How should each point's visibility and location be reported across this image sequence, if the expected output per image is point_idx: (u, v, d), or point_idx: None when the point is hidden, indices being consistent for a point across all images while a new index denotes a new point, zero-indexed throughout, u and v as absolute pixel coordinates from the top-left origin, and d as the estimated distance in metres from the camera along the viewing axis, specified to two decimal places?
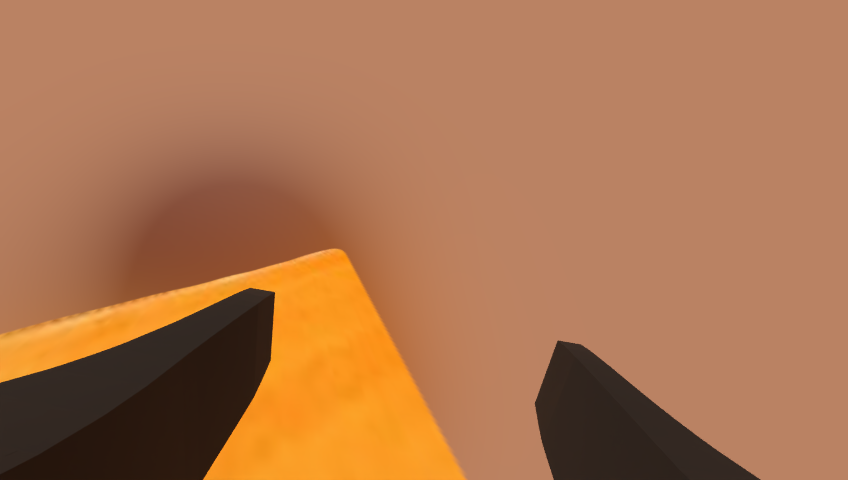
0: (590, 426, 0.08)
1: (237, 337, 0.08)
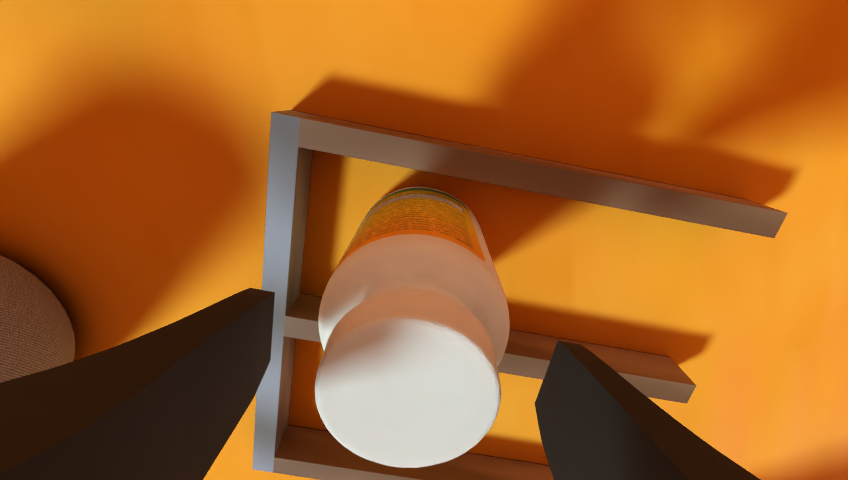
0: (590, 426, 0.08)
1: (237, 337, 0.08)
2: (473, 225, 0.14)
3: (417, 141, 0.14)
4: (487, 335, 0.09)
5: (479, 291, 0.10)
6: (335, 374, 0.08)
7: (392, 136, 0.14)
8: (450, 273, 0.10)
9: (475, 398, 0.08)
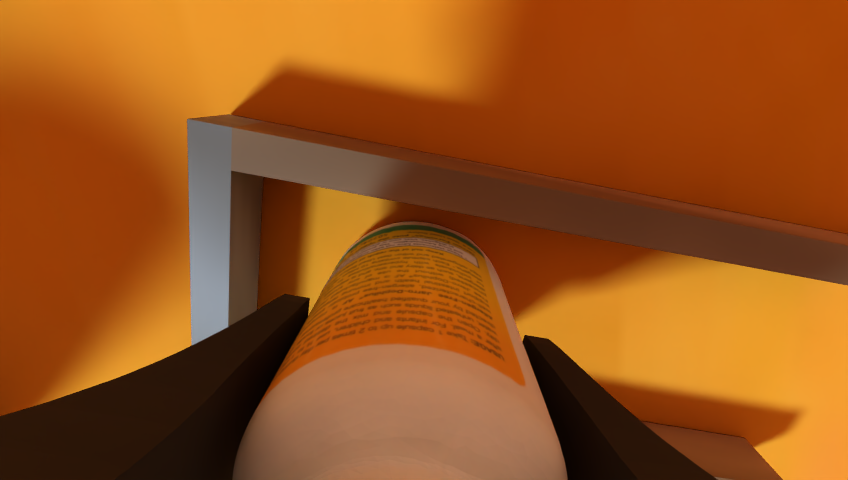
0: None
1: (279, 344, 0.08)
2: (494, 289, 0.09)
3: (409, 162, 0.09)
4: None
5: (521, 463, 0.05)
6: None
7: (372, 155, 0.09)
8: (467, 433, 0.05)
9: None
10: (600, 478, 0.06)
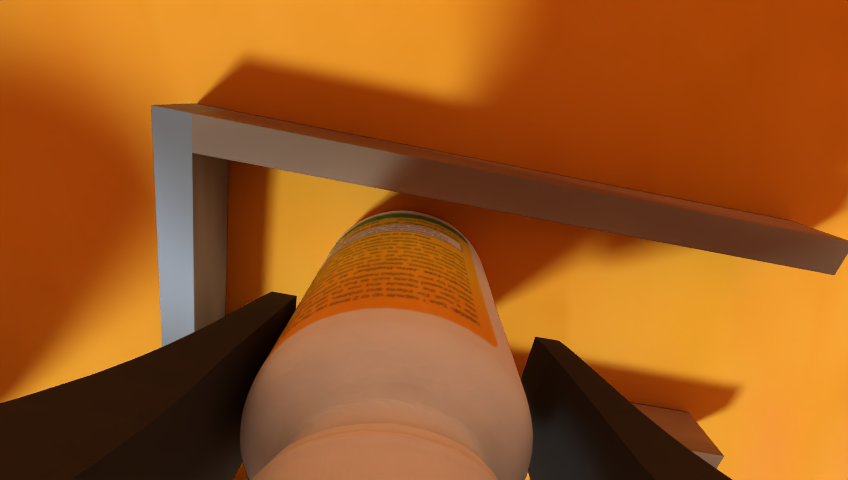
0: (562, 422, 0.08)
1: (263, 341, 0.08)
2: (475, 270, 0.10)
3: (354, 145, 0.10)
4: None
5: (490, 407, 0.06)
6: None
7: (320, 138, 0.10)
8: (445, 380, 0.06)
9: None
10: None
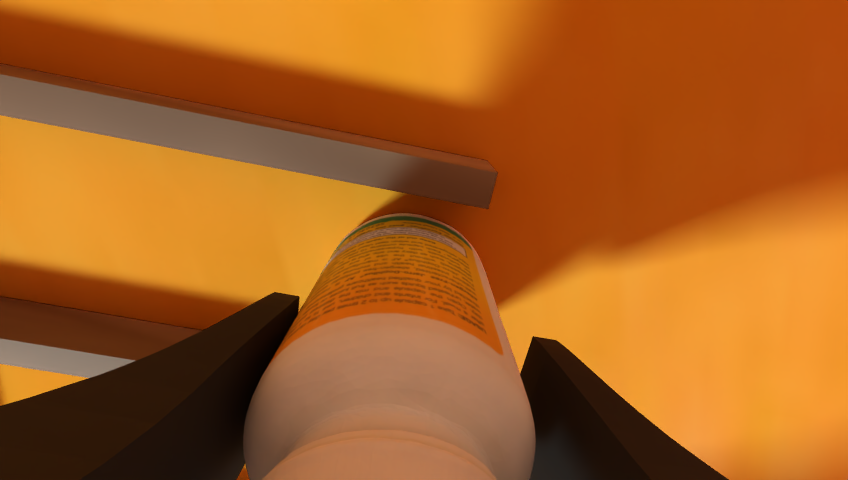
0: (559, 421, 0.08)
1: (267, 342, 0.08)
2: (479, 276, 0.10)
3: None
4: None
5: (496, 415, 0.06)
6: None
7: None
8: (453, 387, 0.06)
9: None
10: None
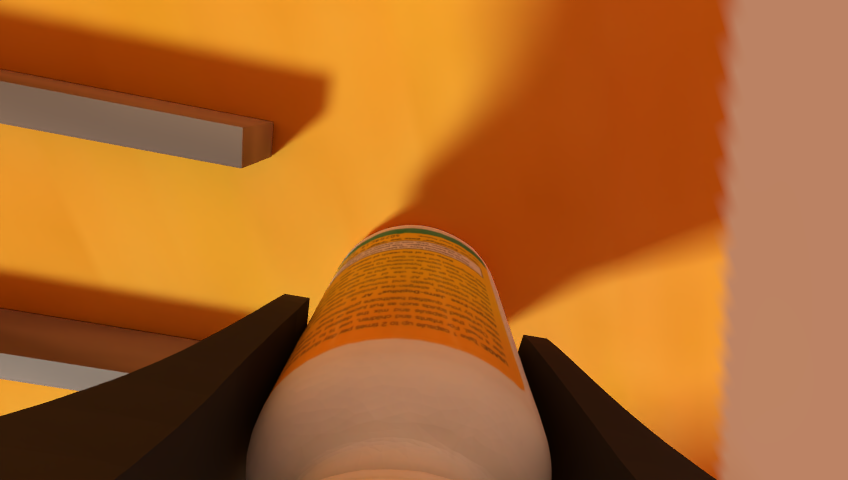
0: (548, 419, 0.08)
1: (279, 344, 0.08)
2: (495, 299, 0.10)
3: None
4: None
5: (518, 458, 0.06)
6: None
7: None
8: (477, 426, 0.06)
9: None
10: (598, 478, 0.06)
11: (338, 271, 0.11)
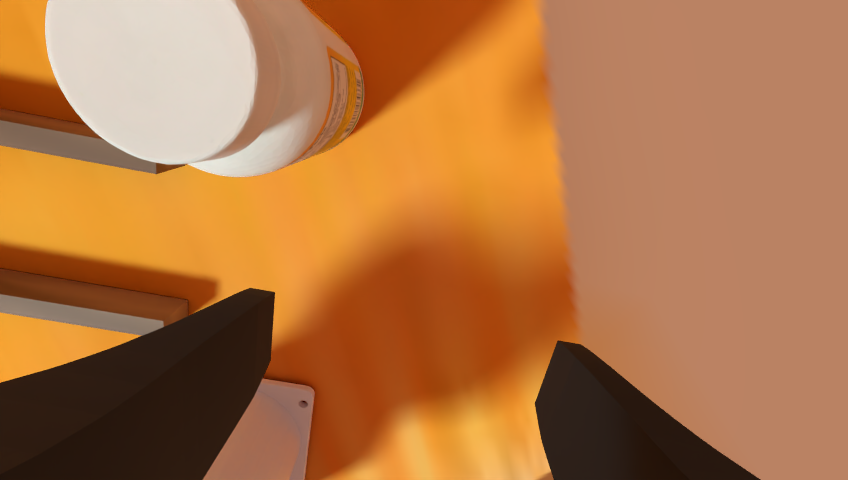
0: (590, 426, 0.08)
1: (237, 337, 0.08)
2: (336, 35, 0.13)
3: None
4: (266, 27, 0.08)
5: (283, 13, 0.09)
6: (67, 9, 0.07)
7: None
8: None
9: (229, 67, 0.08)
10: None
11: None
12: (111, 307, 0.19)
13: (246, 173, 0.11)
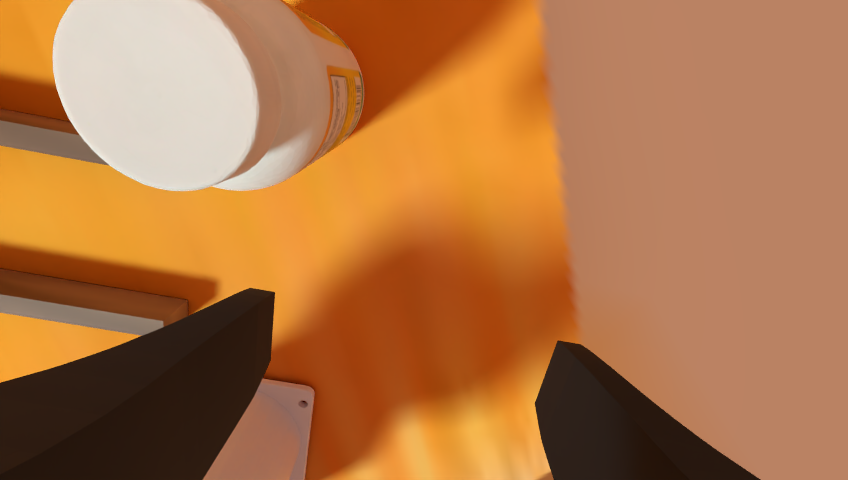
0: (590, 426, 0.08)
1: (237, 337, 0.08)
2: (337, 44, 0.13)
3: None
4: (267, 58, 0.08)
5: (284, 38, 0.09)
6: (73, 42, 0.07)
7: None
8: (252, 7, 0.09)
9: (231, 102, 0.08)
10: None
11: None
12: (111, 307, 0.19)
13: (247, 188, 0.11)
